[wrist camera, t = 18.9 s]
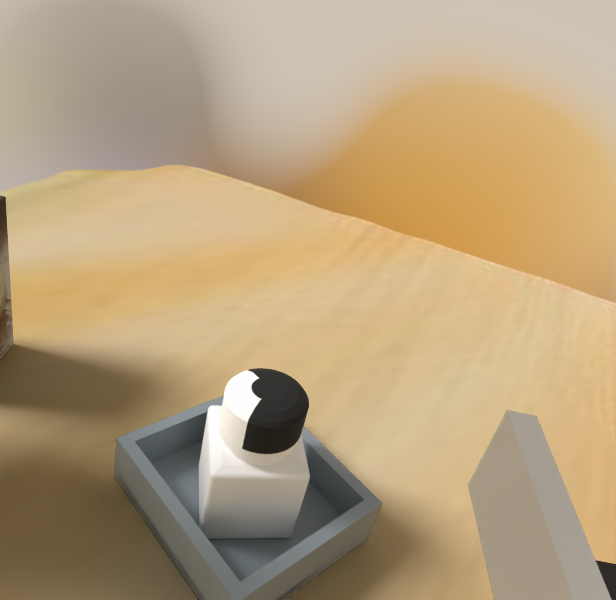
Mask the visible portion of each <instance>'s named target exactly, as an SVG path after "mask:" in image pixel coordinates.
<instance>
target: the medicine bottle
mask: <svg viewBox="0 0 616 600" xmlns="http://www.w3.org/2000/svg"><path fill="white" fill-rule="evenodd" d="M308 408H309V400H308V396H307V394H306V392H305V391H304V389H303V388H302V386H301V385H300V384H299V383H298V382H297V381H296V380H295V379H293V378H292V377H290V376H288V375H287V374H284V373H282V372H279V371H276V370H272V369H263V368H258V369H250V370H246V371H244V372H242V373H240V374H238V375H236V376H234V377H233V378H232V379H231V380H230V381H229V382H228V384H227V386H226V388H225V393H224V398H223V404H222V406H217V405H212V406H210V407H209V408H208V412H207V418H206V425H205V431H204V437H203V443H202V449H201V455H200V461H199V528H200V529H201V530H202V532H203V533H204V534H205V536H206V537H207V538H208V539H238V538H290V537H291V536H292V534H293V530H294V527H295V524H296V521H297V518H298V514H299V511H300V508H301V505H302V502H303V498H304V495H305V492H306V489H307V486H308V482H309V479H310V474H309V469H308V464H307V459H306V454H305V449H304V444H303V440H302V435H301V433H302V429H303V426H304V422H305V418H306V415H307V411H308Z"/></svg>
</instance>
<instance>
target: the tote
mask: <svg viewBox="0 0 616 600" xmlns="http://www.w3.org/2000/svg"><path fill="white" fill-rule="evenodd" d="M223 398H224V396H221V397H219V398H216V399H214V400H211V401H208V402H206V403H203V404H201V405H198V406H196V407H193V408H191V409H188V410H186V411H183V412H181V413H178V414H175V415H173V416H170V417H168V418H165V419H163V420H160V421H158V422H155V423H153V424H150V425H148V426H145V427H142V428H140V429H137V430H135V431H132V432H130V433H127V434H125V435H122V436H120V437H117V438H116V455H115V473H114V477H115V479H116V480H117V482H118V483H119V485H120V486H121V487H122V489H123V490H124V492H125V493H126V495H127V496H128V498H129V499H130V501H131V502H132V504H133V505H134V506H135V508H136V509H137V511H138V512H139V514H140V515H141V517H142V518H143V520H144V521H145V523H146V524H147V525H148V527H149V528H150V530H151V531H152V533H153V534H154V536H155V537H156V539H157V540H158V542H159V543H160V544H161V546H162V547H163V549H164V550H165V552H166V553H167V555H168V556H169V558H170V559H171V561H172V562H173V563H174V565H175V566H176V568H177V569H178V571H179V572H180V574H181V575H182V577H183V578H184V580H185V581H186V582H187V584H188V585H189V587H190V588H191V590H192V591H193V593H194V594H195V596H196V597H197V599H198V600H284V599H286V598H287V597H288V596H290V595H291V594H292V593H294V592H295V591H297V590H298V589H299V588H301V587H302V586H303V585H305V584H306V583H308V582H309V581H310V580H312V579H313V578H314V577H316V576H317V575H319V574H320V573H321V572H323V571H324V570H325V569H327V568H328V567H329V566H331V565H332V564H334V563H335V562H336V561H338V560H339V559H340V558H342V557H343V556H345V555H346V554H347V553H349V552H350V551H351V550H353V549H354V548H356V547H357V546H358V545H360V544H361V543H362V542H364V541H365V540H367V538H368V536H369V533H370V531H371V529H372V526H373V524H374V521H375V519H376V517H377V514H378V512H379V510H380V507H381V505H382V502H381V501H379V500H378V499H377V498H376V497H375V496H374V495H373V494H372V493H371V492H370V491H369V490H368V489H367V488H366V487H365V486H364V485H363V484H362V483H361V482H360V481H359V480H358V479H357V478H356V477H355V476H354V475H353V474H352V473H351V472H350V471H349V470H348V469H347V468H346V467H345V466H344V465H343V464H342V463H341V462H340V461H339V460H337V459H336V458H335V457H334V456H333V455H332V454H331V453H330V452H329V451H328V450H327V449H326V448H325V447H324V446H323V445H322V444H321V443H320V442H319V441H318V440H317V439H316V438H315V437H314V436H313V435H312V434H311V433H310V432H309V431H308V430H307V429H306V428H305V427H304V426H303V429H302V433H301V435H302V440H303V444H304V449H305V454H306V459H307V464H308V469H309V474H310V479H309V482H308V486H307V489H306V492H305V495H304V498H303V502H302V505H301V508H300V511H299V514H298V518H297V521H296V524H295V527H294V530H293V534H292V536H291V537H290V538H238V539H208V538H207V537H206V536H205V534H204V533H203V532H202V530H201V529H200V528H199V461H200V455H201V449H202V443H203V437H204V431H205V425H206V418H207V412H208V408H209V407H210V406H212V405H217V406H222V404H223Z"/></svg>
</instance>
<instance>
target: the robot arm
mask: <svg viewBox="0 0 616 600" xmlns="http://www.w3.org/2000/svg"><path fill="white" fill-rule="evenodd" d="M468 487H469V492H470V496H471V500H472V505H473V509H474V514H475V518H476V522H477V527H478V531H479V535H480V540H481V544H482V549H483V553H484V557H485V562H486V566H487V571H488V575H489V579H490V584H491V588H492V592H493V597H494V600H616V564H612V563H607V562H601V561H596V560H595V558H594V556H593V553H592V551H591V548H590V546H589V543H588V541H587V538H586V536H585V534H584V531H583V529H582V526H581V524H580V521H579V519H578V516H577V514H576V511H575V509H574V507H573V504H572V502H571V499H570V497H569V494H568V492H567V489H566V487H565V485H564V482H563V480H562V477H561V475H560V472H559V470H558V467H557V465H556V463H555V460H554V458H553V455H552V453H551V450H550V448H549V445H548V443H547V440H546V438H545V436H544V433H543V431H542V428H541V426H540V423H539V421H538V418H537V416H533V415H528V414H524V413H519V412H514V411H509V410H507V411H506V413H505V415H504V417H503V419H502V421H501V423H500V425H499V426H498V428H497V430H496V432H495V434H494V436H493V438H492V440H491V442H490V444H489V446H488V448H487V449H486V451H485V453H484V455H483V457H482V459H481V461H480V463H479V465H478V467H477V469H476V470H475V472H474V474H473V476H472V478H471V480H470V482H469V484H468Z"/></svg>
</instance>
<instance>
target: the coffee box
mask: <svg viewBox="0 0 616 600" xmlns="http://www.w3.org/2000/svg"><path fill="white" fill-rule="evenodd" d="M12 345H13V326H12V309H11V290H10V271H9V253H8V235H7V217H6V197H4V196H0V359H1V358H2V357H3V356H4V355H5V353H6V352H7V351H8V350H9V349H10V347H11V346H12Z"/></svg>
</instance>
